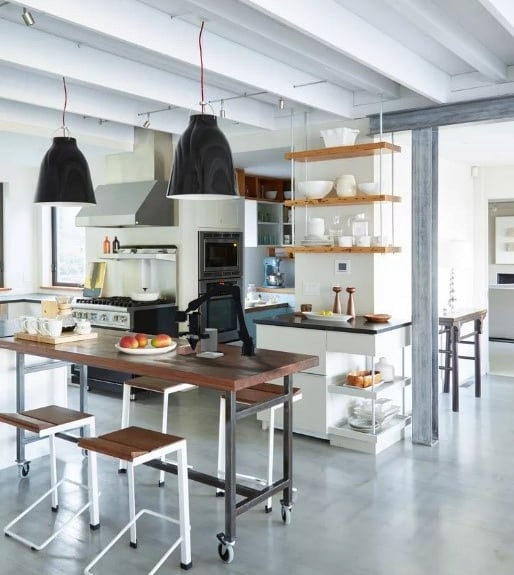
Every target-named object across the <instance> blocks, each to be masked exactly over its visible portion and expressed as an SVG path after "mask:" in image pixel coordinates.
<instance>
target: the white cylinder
mask: <svg viewBox="0 0 514 575" xmlns="http://www.w3.org/2000/svg"><path fill="white" fill-rule="evenodd" d="M204 329H205V333H209V334H210V338H208V339H200V351H201V352H214V353H215V352H217V351H218V329H217V328H210V327H209V328H204Z"/></svg>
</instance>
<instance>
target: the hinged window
mask: <svg viewBox="0 0 514 575" xmlns="http://www.w3.org/2000/svg"><path fill="white" fill-rule="evenodd" d="M196 357H201V358H207V359H208V358H209V359H216V358H220V357H224V352H223V353H220V352H215V351H214V352H204V351H202V352H200V353H199V352H198V353H196Z"/></svg>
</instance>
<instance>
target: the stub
mask: <svg viewBox="0 0 514 575" xmlns="http://www.w3.org/2000/svg"><path fill="white" fill-rule="evenodd" d="M196 350H197V347H196V348H195V350H192V348H191V346H190V344H185V345H180V346H178V351H177V352H178V355H189V354H194V353H196V352H197V351H196Z"/></svg>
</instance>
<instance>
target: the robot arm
mask: <svg viewBox="0 0 514 575" xmlns="http://www.w3.org/2000/svg"><path fill="white" fill-rule="evenodd" d="M221 291H222V292H227V293H231V298H232V299H233V301H234V305H235V306H234V307H235V310H236V311H235V312H236V314H237V320H238V325H239V328H238V329H236V332H237V334H238V335H237V338H239V340H240V341H241V342H242V345H241V353H240V355H241V356H245V357H246V356H248V357H252V356H255V355H257V353H255V350H256V349H255V348H256V346H255V345H256V344H255V343H254V341H255V338H253V337H252V335H251V333H250V330H249V328H248V326H247V322H246V318H245V317H246V316H245V313H244V312H245V311H244V308H243V307H244V306H243V303H242V302H243V301H242V287H241V285H239V284H236V283H235V284H233V285H231V284H226V283H222V282H220V283H218V284H217V285H216V286H214V287H213V288H212V289H210V290H209V291H207V292H206V293H204V294H203V295H201V296H200V297H199V296H198V297H197V298H195V299H193V300H190V301H189V302H188V304H187V308H185V310H177V309H176V311H175V314H174V322H175V323H176V324H177V323H186V322H188V324H187V325H186V327H188V330H181V331H178V332H177V337H178V338H183V337H186V338H185V339H186V340H187V342H188V345H190V346H191V348H192V350H195V348H196V349H197V345H198V343H199V341H201V339H208V338H210V334H209V333H205V329H206V328H205V327H201V324H200V323H199V322H200V316H201V315H203V312H202V311H201V310H200V308H201V306H202V305H203V304H205V303H206V302H207V301H208V300H209V299H211V298H213V297H214V296H215V295H217V294H219V293H220V292H221ZM198 309H199V310H198ZM197 310H198V311H197Z"/></svg>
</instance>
